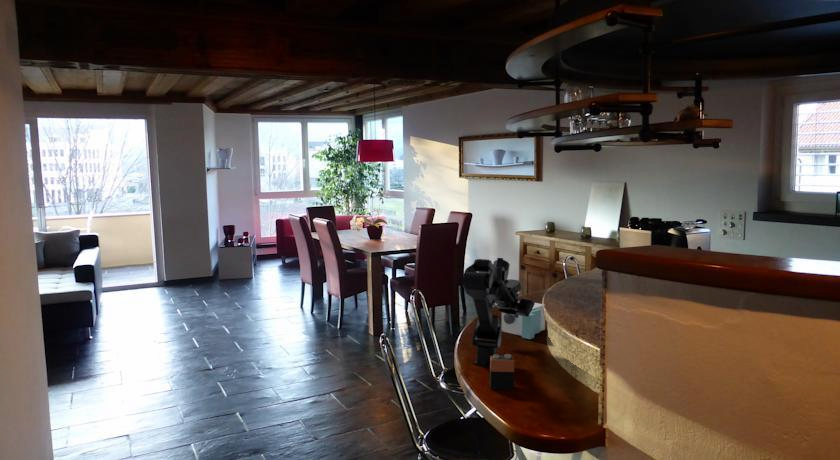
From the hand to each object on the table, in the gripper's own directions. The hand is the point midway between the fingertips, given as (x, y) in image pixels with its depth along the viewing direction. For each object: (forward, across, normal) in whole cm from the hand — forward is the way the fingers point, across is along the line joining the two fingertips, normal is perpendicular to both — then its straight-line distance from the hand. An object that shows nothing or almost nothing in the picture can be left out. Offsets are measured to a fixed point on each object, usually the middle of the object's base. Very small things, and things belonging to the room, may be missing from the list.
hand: (517, 316), depth 223 cm
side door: (+15, 0, -1) cm, 15 cm away
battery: (-22, -22, +36) cm, 47 cm away
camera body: (+18, +8, -4) cm, 20 cm away
